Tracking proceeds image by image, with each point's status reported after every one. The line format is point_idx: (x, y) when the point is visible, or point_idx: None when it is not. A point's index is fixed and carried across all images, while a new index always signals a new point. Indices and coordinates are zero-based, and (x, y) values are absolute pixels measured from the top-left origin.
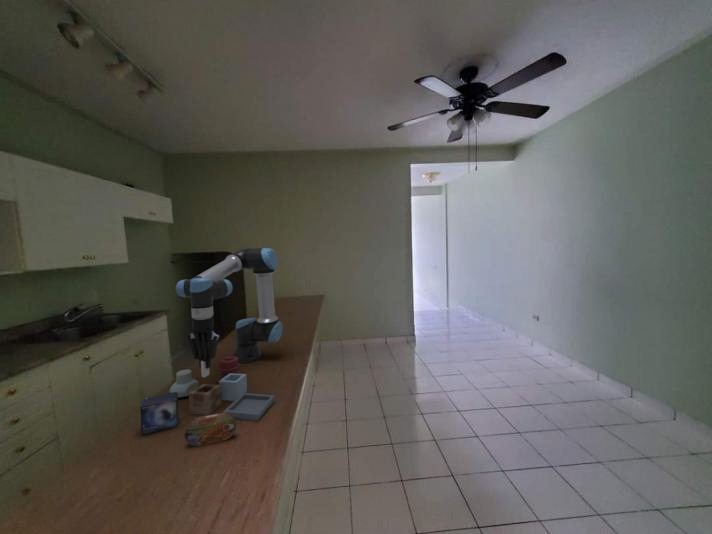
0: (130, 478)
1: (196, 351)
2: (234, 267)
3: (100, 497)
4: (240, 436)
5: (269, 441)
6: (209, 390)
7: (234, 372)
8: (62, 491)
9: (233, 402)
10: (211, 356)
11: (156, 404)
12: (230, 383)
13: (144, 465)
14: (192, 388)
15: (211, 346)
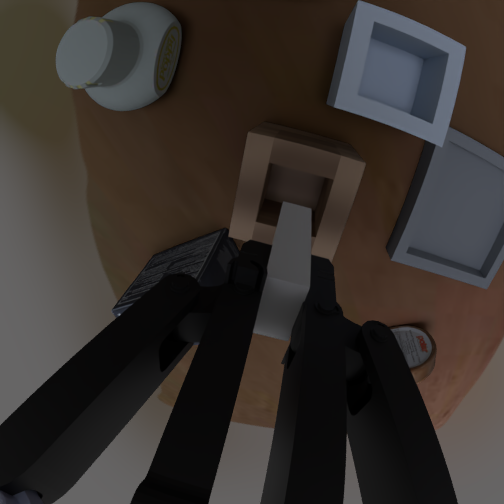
0: (255, 389)
1: (156, 376)
2: None
3: (238, 404)
4: (435, 327)
5: (482, 341)
6: (323, 219)
7: None
8: (174, 385)
9: (417, 201)
10: (368, 397)
11: None
12: (407, 131)
13: (259, 373)
14: (167, 58)
15: (375, 502)
